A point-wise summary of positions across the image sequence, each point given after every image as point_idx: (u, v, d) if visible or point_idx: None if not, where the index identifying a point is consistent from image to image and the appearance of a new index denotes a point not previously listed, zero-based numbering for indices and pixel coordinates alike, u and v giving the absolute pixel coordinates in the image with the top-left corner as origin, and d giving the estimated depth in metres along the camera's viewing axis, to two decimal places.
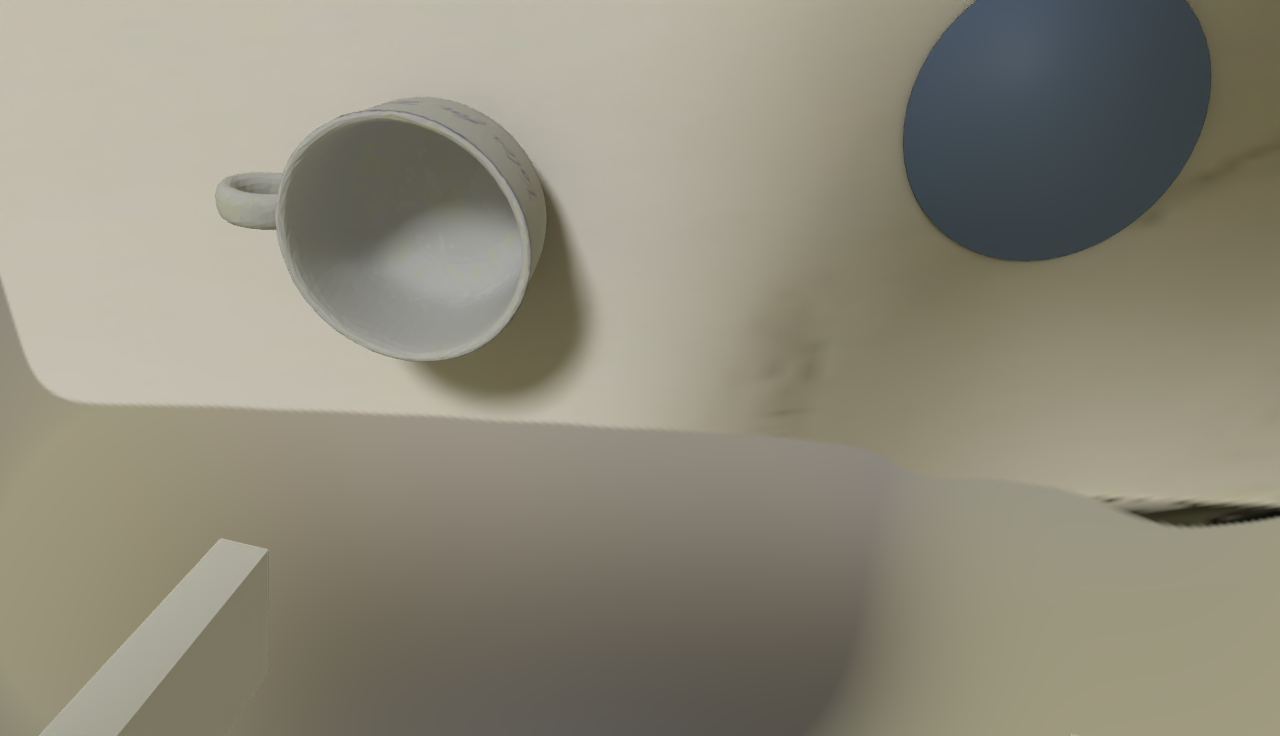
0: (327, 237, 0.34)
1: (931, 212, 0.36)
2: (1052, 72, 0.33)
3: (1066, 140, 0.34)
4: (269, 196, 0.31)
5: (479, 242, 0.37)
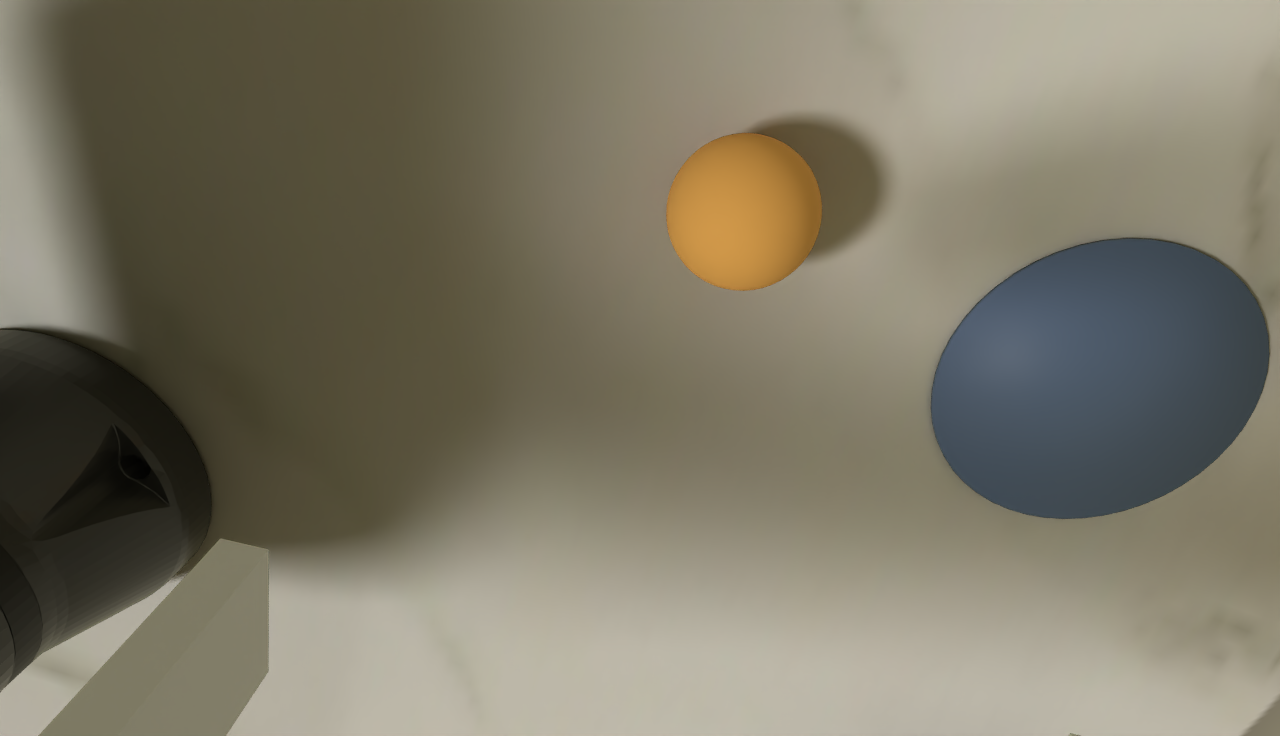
0: None
1: (1128, 505, 0.33)
2: (1040, 384, 0.31)
3: (1122, 380, 0.31)
4: None
5: None
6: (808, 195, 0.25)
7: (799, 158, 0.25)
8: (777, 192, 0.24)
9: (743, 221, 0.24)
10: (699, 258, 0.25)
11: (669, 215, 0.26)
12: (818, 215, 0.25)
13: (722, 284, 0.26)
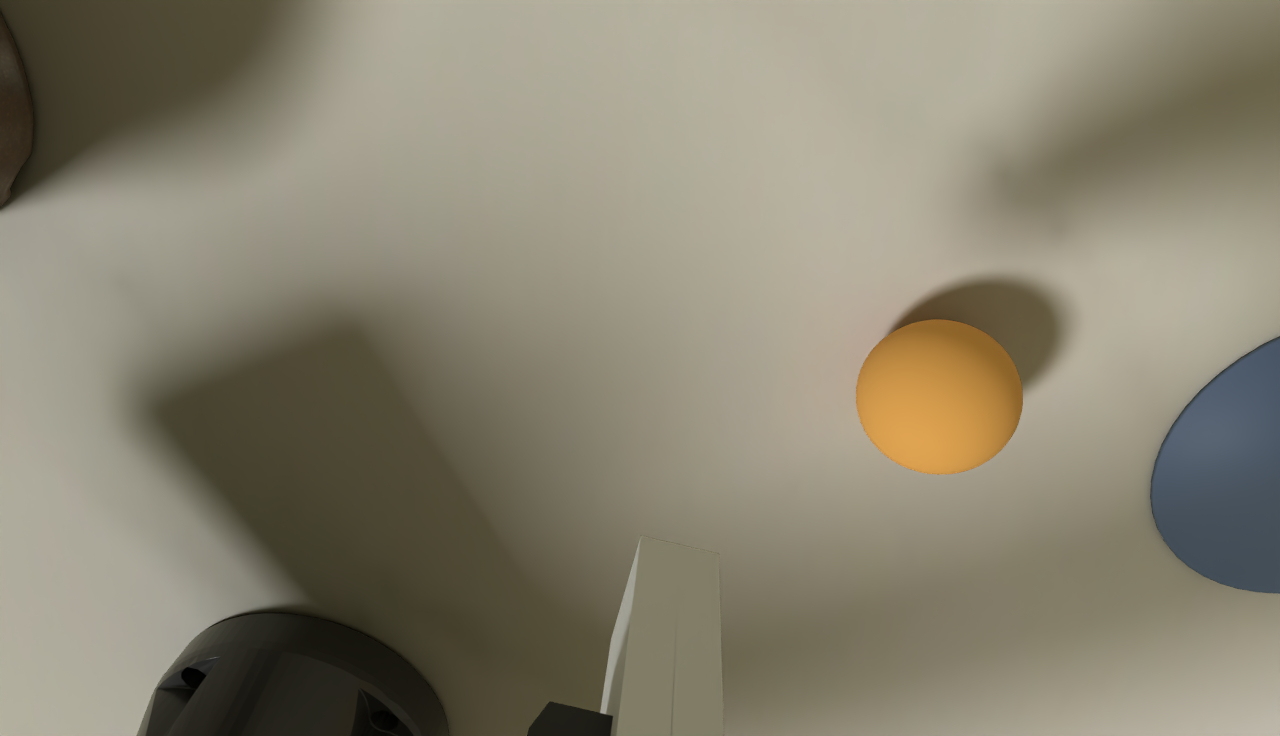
0: None
1: None
2: (1269, 469, 0.30)
3: None
4: None
5: None
6: (1010, 378, 0.24)
7: (989, 341, 0.25)
8: (983, 389, 0.24)
9: (955, 425, 0.24)
10: (911, 459, 0.25)
11: (866, 420, 0.26)
12: (1021, 391, 0.25)
13: None
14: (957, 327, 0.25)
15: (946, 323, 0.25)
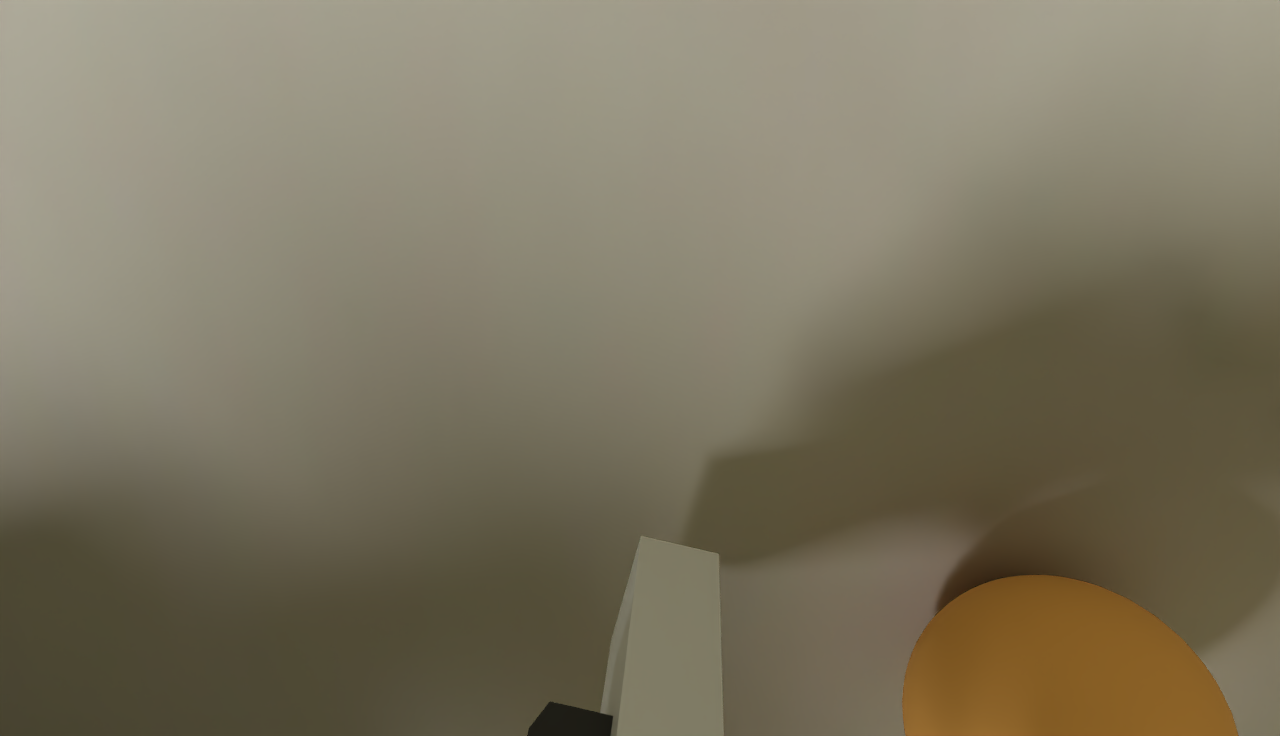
0: None
1: None
2: None
3: None
4: None
5: None
6: None
7: (1179, 657, 0.12)
8: None
9: None
10: None
11: None
12: None
13: None
14: (1113, 622, 0.13)
15: (1088, 608, 0.13)
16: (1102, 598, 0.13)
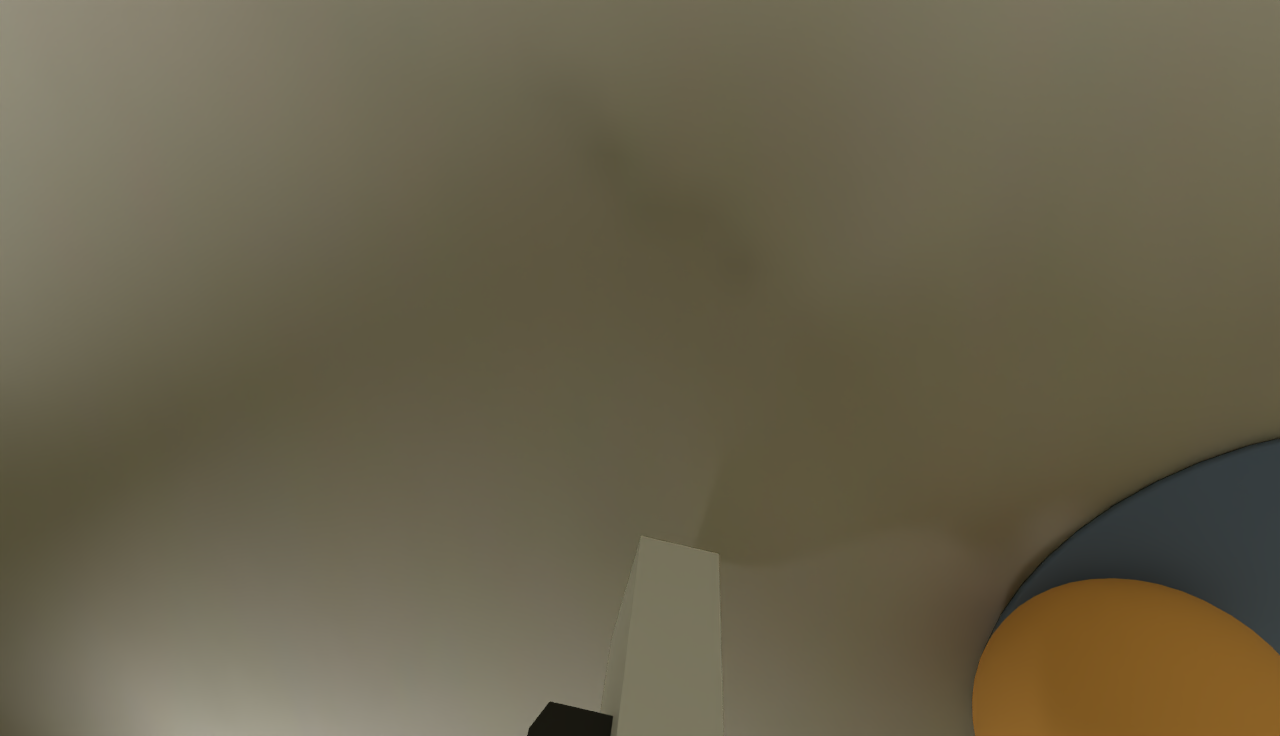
0: None
1: None
2: None
3: None
4: None
5: None
6: (1090, 659, 0.12)
7: (1180, 636, 0.12)
8: (1044, 612, 0.14)
9: None
10: None
11: None
12: (1099, 722, 0.12)
13: None
14: (1207, 612, 0.13)
15: (1223, 614, 0.13)
16: (1252, 641, 0.12)
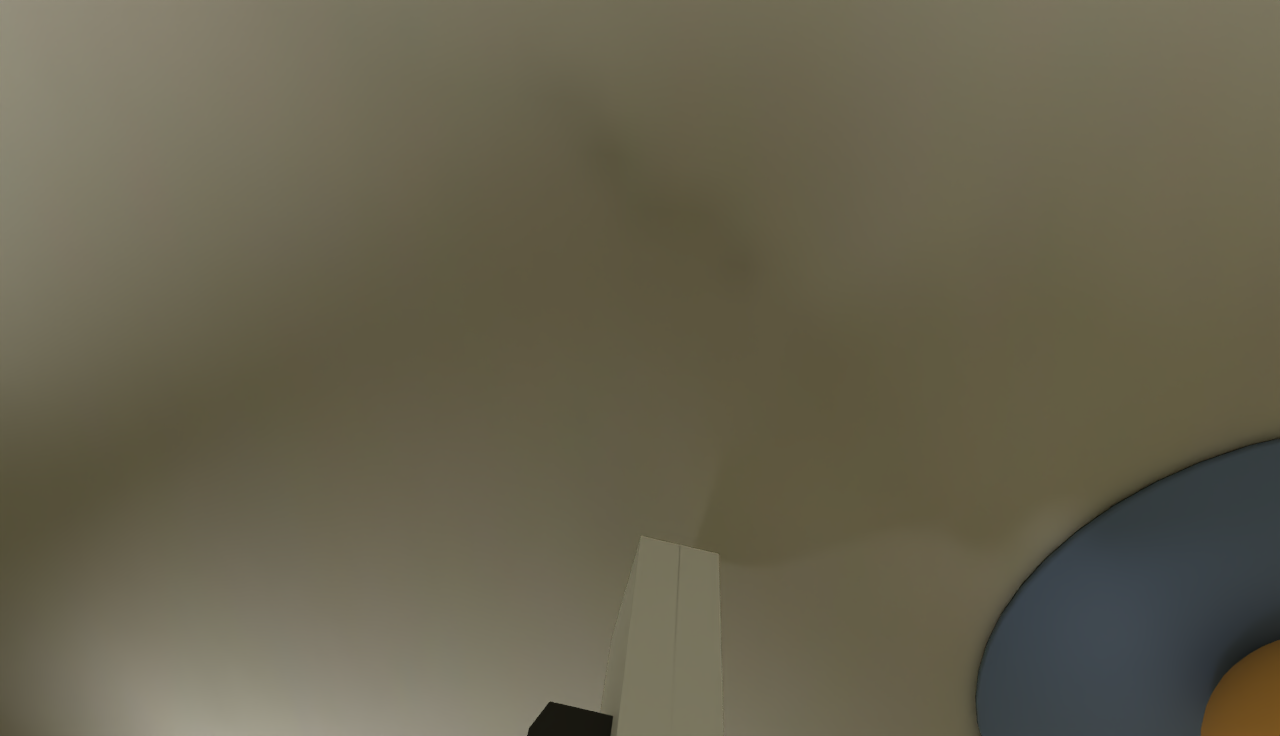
0: None
1: None
2: (1179, 687, 0.17)
3: None
4: None
5: None
6: None
7: None
8: None
9: None
10: None
11: None
12: None
13: None
14: None
15: None
16: None
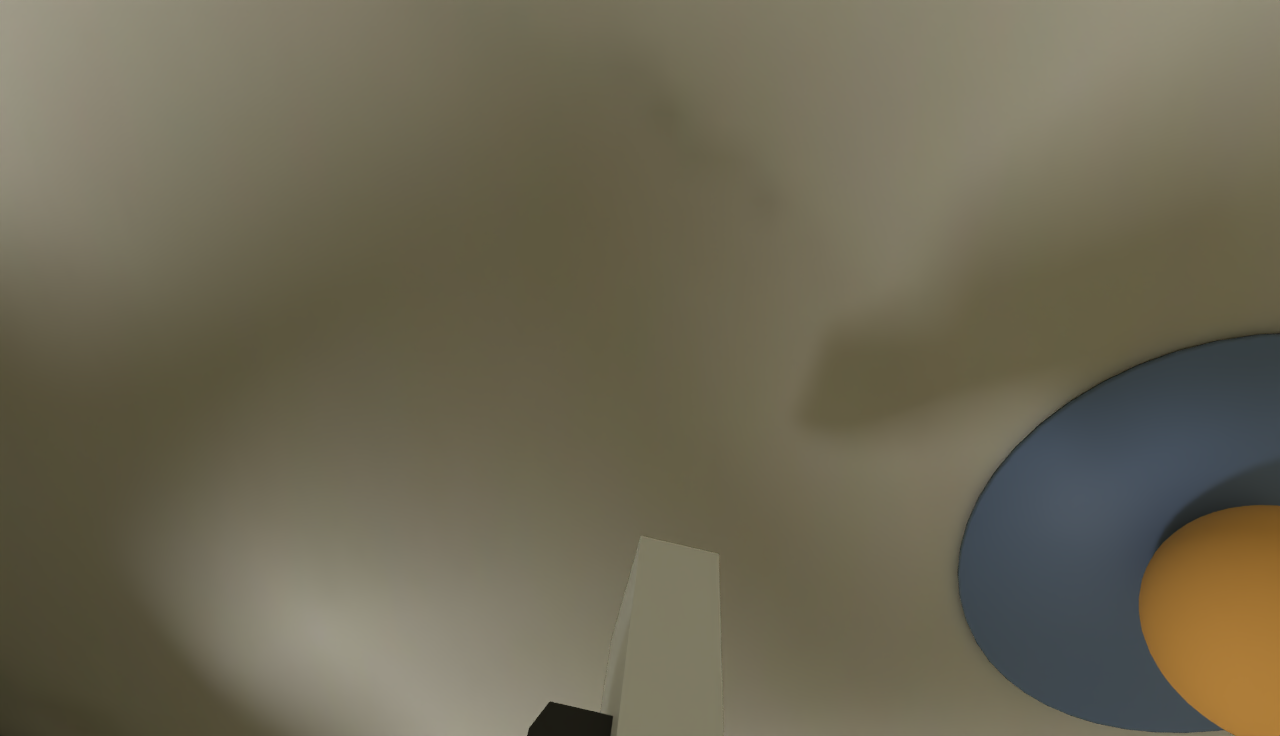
0: None
1: None
2: (1127, 563, 0.20)
3: None
4: None
5: None
6: None
7: None
8: None
9: None
10: (1223, 717, 0.16)
11: (1153, 634, 0.18)
12: None
13: None
14: None
15: None
16: None
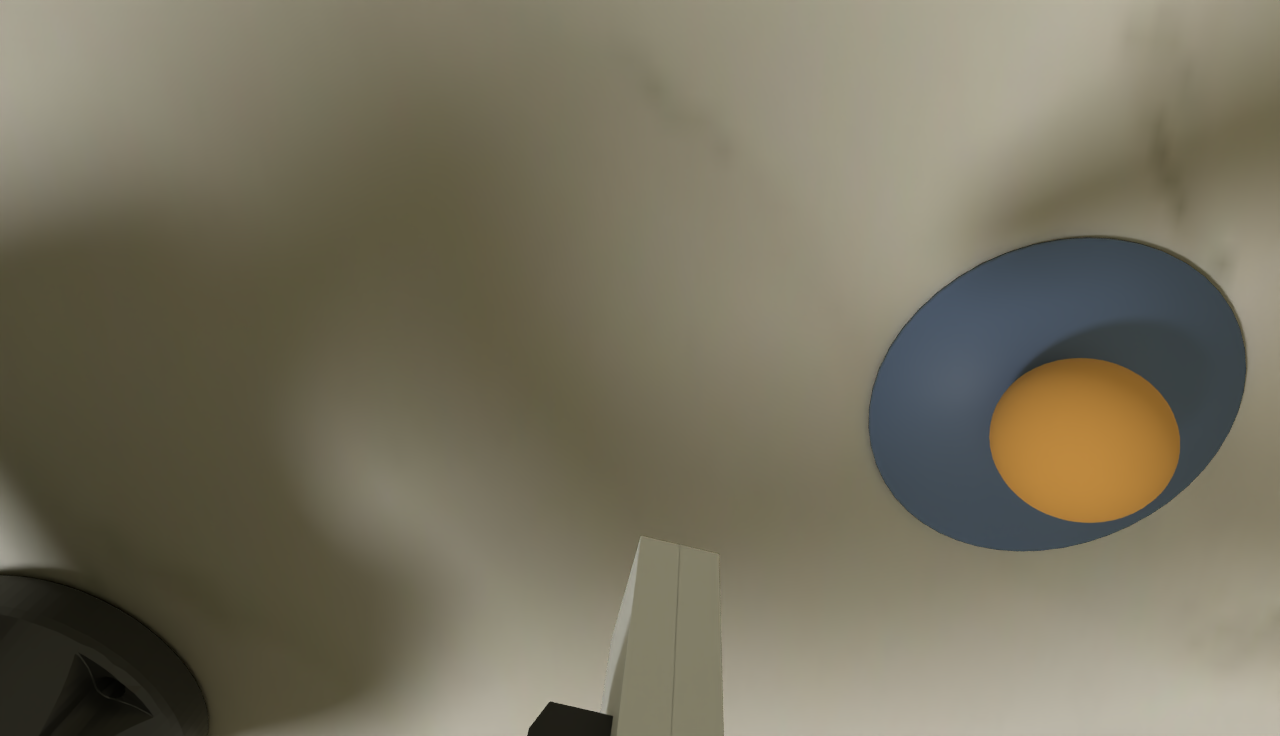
0: None
1: (1132, 519, 0.29)
2: (988, 415, 0.28)
3: None
4: None
5: None
6: (1161, 426, 0.23)
7: (1142, 384, 0.23)
8: (1121, 430, 0.22)
9: (1084, 464, 0.23)
10: (1035, 496, 0.24)
11: (994, 449, 0.25)
12: (1176, 444, 0.23)
13: (1065, 519, 0.24)
14: (1107, 366, 0.24)
15: (1096, 361, 0.24)
16: (1109, 362, 0.24)
